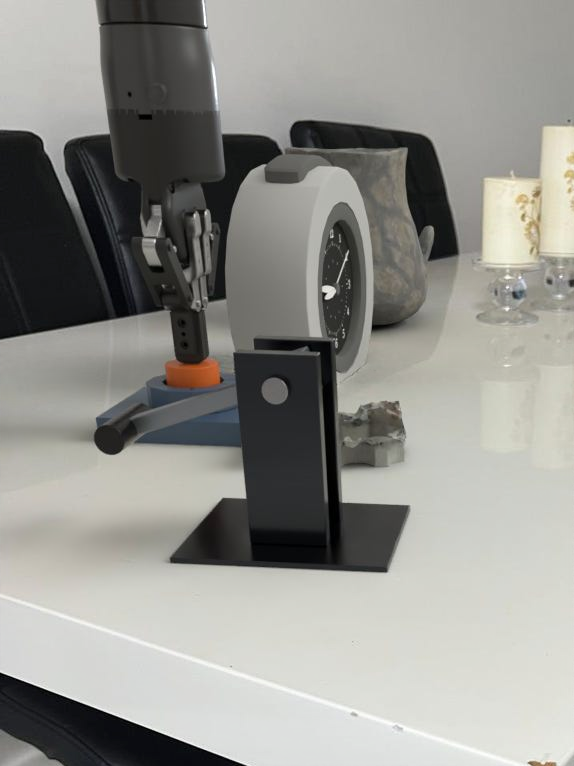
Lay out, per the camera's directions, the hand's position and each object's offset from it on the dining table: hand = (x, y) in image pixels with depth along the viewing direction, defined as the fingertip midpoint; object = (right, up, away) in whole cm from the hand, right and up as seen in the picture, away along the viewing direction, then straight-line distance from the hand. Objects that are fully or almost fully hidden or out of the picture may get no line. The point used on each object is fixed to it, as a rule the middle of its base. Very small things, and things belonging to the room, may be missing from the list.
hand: (192, 360), depth 76 cm
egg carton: (+11, -9, -3) cm, 15 cm away
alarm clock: (+5, +5, +23) cm, 24 cm away
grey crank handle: (+7, -9, -21) cm, 24 cm away
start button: (0, -2, +1) cm, 2 cm away
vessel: (+6, +19, +50) cm, 53 cm away
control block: (0, -5, +3) cm, 6 cm away
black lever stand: (+11, -16, -17) cm, 26 cm away
